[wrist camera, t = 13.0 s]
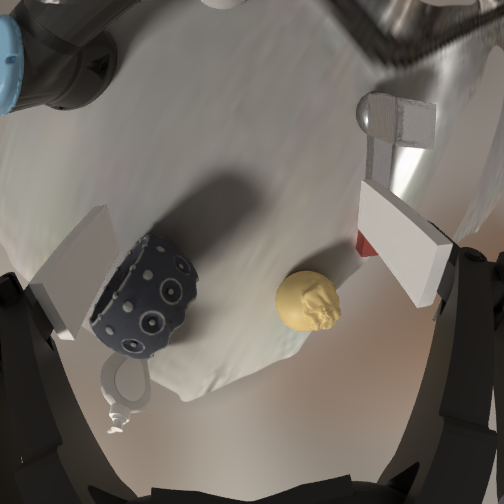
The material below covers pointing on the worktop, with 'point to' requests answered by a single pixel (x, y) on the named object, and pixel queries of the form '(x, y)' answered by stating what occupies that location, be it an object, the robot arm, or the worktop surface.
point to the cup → (223, 3)
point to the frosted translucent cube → (401, 121)
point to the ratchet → (373, 164)
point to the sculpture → (307, 302)
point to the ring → (145, 299)
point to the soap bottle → (125, 387)
